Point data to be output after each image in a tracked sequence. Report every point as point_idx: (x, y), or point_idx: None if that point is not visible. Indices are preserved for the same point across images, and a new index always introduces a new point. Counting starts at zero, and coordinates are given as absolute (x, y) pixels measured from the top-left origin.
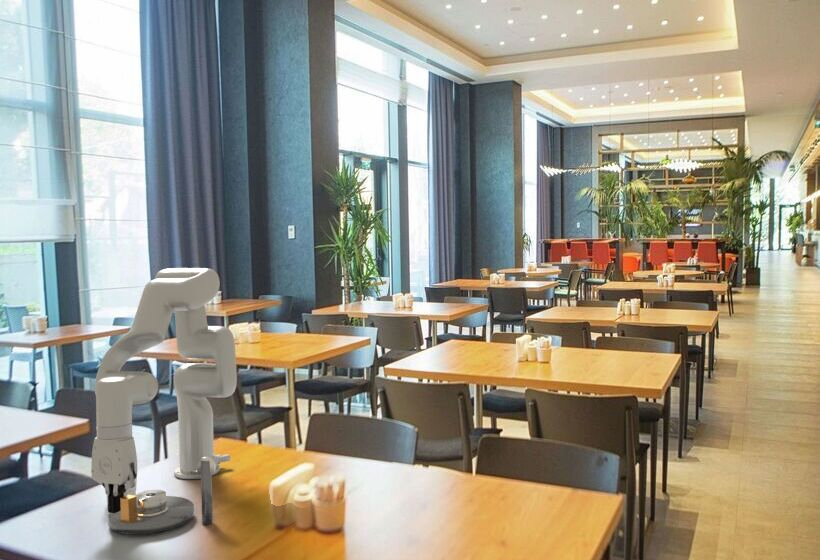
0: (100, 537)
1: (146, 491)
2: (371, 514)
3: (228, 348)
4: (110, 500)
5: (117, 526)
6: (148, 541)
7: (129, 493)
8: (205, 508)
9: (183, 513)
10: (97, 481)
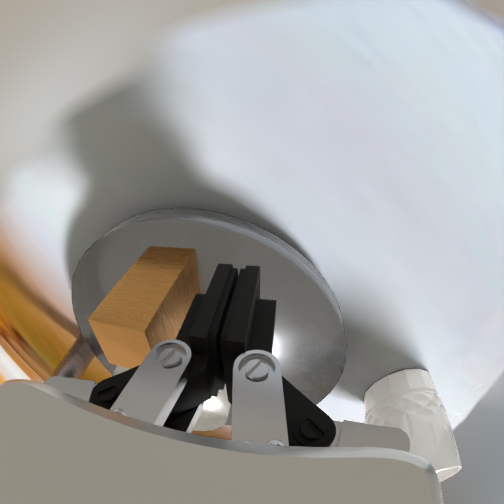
0: (267, 167)
1: (215, 422)
2: (13, 369)
3: None
4: (229, 316)
5: (193, 219)
6: (87, 212)
7: (369, 416)
8: (62, 360)
9: (98, 349)
10: (342, 448)
